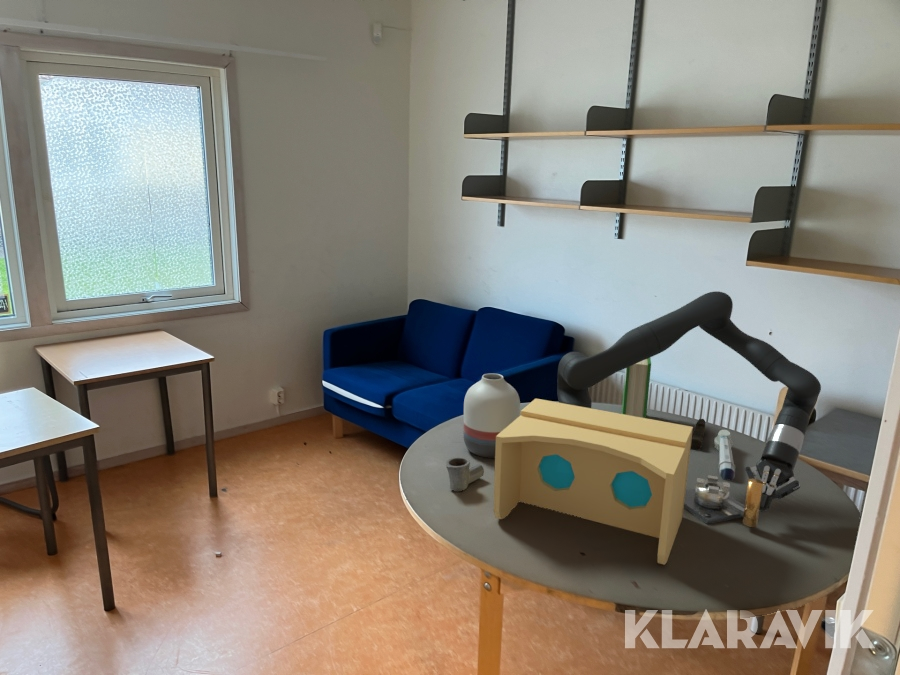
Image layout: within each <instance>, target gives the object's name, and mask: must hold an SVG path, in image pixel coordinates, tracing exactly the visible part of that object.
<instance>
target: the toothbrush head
mask: <svg viewBox="0 0 900 675" xmlns="http://www.w3.org/2000/svg"><path fill="white" fill-rule="evenodd" d="M733 445H734V440H732V434H731V432H730V430H727V429H721V430H719V431H718V433H717V436H716V437H714V449H715V448H716V449H715V450H716V451H717V450H718V452H719V462H718V468H717V469H718V471H719V476H720V478H721V479H722V480H727V479H730V480H729V481H731V480H734V479H735V476H736V475H735V474H736V473H735V472H736V466H737V465H736V464H734V463H735V462H734V457H733V452H732V447H733Z"/></svg>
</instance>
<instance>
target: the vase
mask: <svg viewBox="0 0 900 675" xmlns="http://www.w3.org/2000/svg"><path fill="white" fill-rule="evenodd" d="M520 415H521V401H520V396H519V393H518V391H517V390H516V388H514V386H512V385H511V384H510V383H508V382H507V381H506V380H505V379H504V376H503V375H502V374H499V373H490V372H489V373H484V374H483V375H482V376H481V379H480V380H479V381H477V382H476V383H474V384H473V385H471V386H470V387H469V388H468V389H467V391H466V393H465V396H464V401H463V425H462V426H463V428H462V429H463V441H464V446H466V448H467V450H468V451H469V452H471V453H472V454H474V455H476V456H479V457H482V458H487V457H488V458H489V459H490V458H491V459H492V458H493V459H495V448H496V436H497V435H498V434H499V433H500V432H501V431H503V430H504V429H505V428H506V427H507V426H508V425H510V424H511V423H512V422H513V421H514V420H516V419H517V418H518V417H519V416H520Z"/></svg>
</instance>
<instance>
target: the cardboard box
mask: <svg viewBox="0 0 900 675" xmlns="http://www.w3.org/2000/svg"><path fill="white" fill-rule="evenodd" d="M693 429H694V427H693V426H690V425H685V424H679V423H673V422H669V421H662V420H657V419H651V418H647V417H646V418H641V417H635V416H630V415H624V414H622V413H619V412H612V411H606V410H600V409H598V408H597V409H596V408H592V407H591V408H586V407H580V406H575V405H569V404H564V403H559V401H552V400H547V399H540V398H534V399H533V400H532V401H531V402H530V403H528V404H527V405H526V406H525V407H523V409H520V416H519V417H518V418H517V419H516V420H514V421H513V422H512V423H511V424H510V425H508V426H507V427H506V428H505V429H504V430H503V431H501V432H500V433H499V434H498V435H497V436H496V448H495V458H494V482H493V483H494V484H493V510H492V511H493V513H494V518H496V519H499V520H503V519H506V518H507V517H508V516H509V514H510V513H511V512H512V511H513V510H514V509H515V508H516V506H517V505H518V504H519V503H523V502H525V503H524V504H526V503H529V504H528V505H530V504H533V505H532V506H534V505H537V506H536V507H538V506H540V507H539V508H542V507H544V508H543V509H546V508H548V509H547V510H549V509H552V510H551V511H553V510H556V511H555V512H557V511H559V512H558V513H561V512H563V513H562V514H565V513H567V514H566V515H569V514H570V515H569V516H572V515H574V516H573V517H576V516H577V517H576V518H580V517H581V519H585V520H587V521H592V522H596V523H600V524H603V525H607V526H611V527H614V528H618V529H623V530H626V531H629V532H634V533H638V534H642V535H645V536H650V537H653V538H657V539H658V545H657V546H658V547H657V563H658V564H660V565H666V563H667V562H668V559H669V556H670V553H671V551H672V548H673V545H674V543H675V539H676V537H677V533H678V531H679V528H680V525H681V523H682V520H683V518H684V517H683V516H684V509H685V508H684V500H685V491H687V482H688V474H689V464H690V457H691V454H690V453H691V449H690V448H691V439H692V435H693ZM519 501H521V502H519ZM518 502H519V503H518ZM517 503H518V504H517ZM516 504H517V505H516ZM513 508H514V509H513ZM512 509H513V510H512ZM511 510H512V511H511ZM506 516H507V517H506ZM505 517H506V518H505Z"/></svg>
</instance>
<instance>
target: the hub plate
mask: <svg viewBox="0 0 900 675" xmlns="http://www.w3.org/2000/svg"><path fill="white" fill-rule="evenodd" d="M695 489H696V488H693V489H688V490H687V489H686V491H685V500H684V509H686V510H687V511H688V512H689V513H691V514H692V515H693V516H695V517H696V518H698V519H699V520H700V521H701V522H703V523H704V524H705V525H710V524H714V523H715V524H716V523H720V522H725V521H730V520H736V519H740V518H743V516H742V515H740V514H738V513H737V512H735V511H733V510H732V509H730V508H728V507H725V508H721V509H713V508H708V507H705V506H702V505H700V504H699V503H697V502H696V501H695V499H694V497H695ZM728 500H730V501H732V502H734V503H735V504H737V505H739V506H741V507H743V508H745V504H743V503H741V502H740V501H738V500H737V499H735V498H734V497H732V496H731V495H729V499H728Z"/></svg>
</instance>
